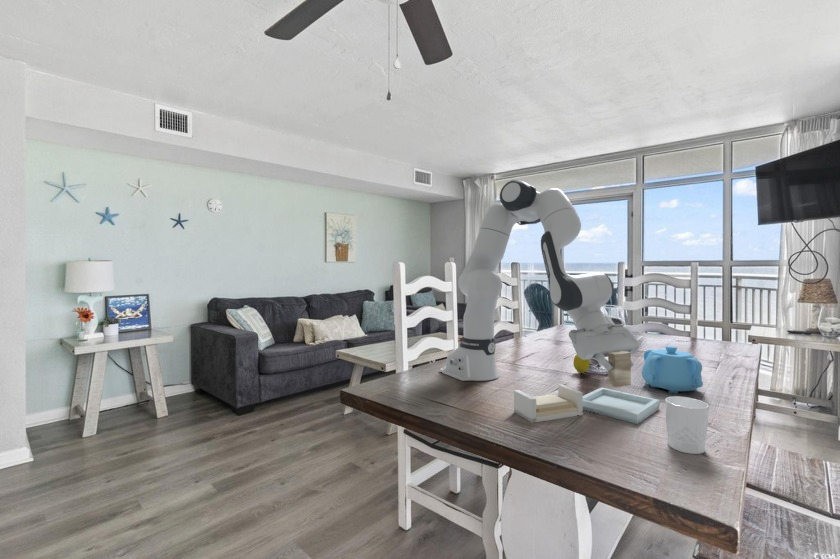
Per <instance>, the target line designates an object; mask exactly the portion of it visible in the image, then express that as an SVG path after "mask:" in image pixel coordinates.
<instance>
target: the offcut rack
mask: <svg viewBox="0 0 840 559" xmlns="http://www.w3.org/2000/svg"><path fill="white" fill-rule="evenodd" d="M557 385H558V386H557V387H558V389H557V390H558V391H557V392H558V393H557V395H555V394H545V395H538V396H531V395H530V394H528V393H526V392H524V391H522V390H519V389H515V390H513V412H514V414H516V415H518V416H520V418H521V417H522V418H523V419H524V420H526V421H527V422H529V423H531V424H534V423H538V422H540V423H541V422H545V421H546V422H547V421H551V420H559V419H565V418H572V417H578V416H577V415H579V416H583V411H584V410H583V396H584V394H583V391H580V390H577V389H574V388H572V387H570V386H567V385H565V384H557Z"/></svg>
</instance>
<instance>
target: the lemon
mask: <svg viewBox="0 0 840 559" xmlns="http://www.w3.org/2000/svg"><path fill="white" fill-rule="evenodd" d="M573 368H574V369H575V370H576V371H577V372H579V373H580V374H581V373H582V374H584V373H585V372H587V371H588V370H589V368H590V359H585V360H582V359H581V358H579V357H578V355H577V354H576V355H574V358H573Z"/></svg>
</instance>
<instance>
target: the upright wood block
mask: <svg viewBox="0 0 840 559" xmlns="http://www.w3.org/2000/svg"><path fill="white" fill-rule="evenodd" d="M631 356H632V354H631V353H629V352H625V351H620V352H611V353H608V357H607V360H608V361H609V362H612V363H613V365H614V369H613V370H609V371H608V372H607V373H608V374H607V375H608V383H607V384H608V386H611V387H614V388H619V387H625V386H626V387H627V386H631V385H632V377H631V376H632V373H631V372H632V367H631V361H632V357H631Z"/></svg>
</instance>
